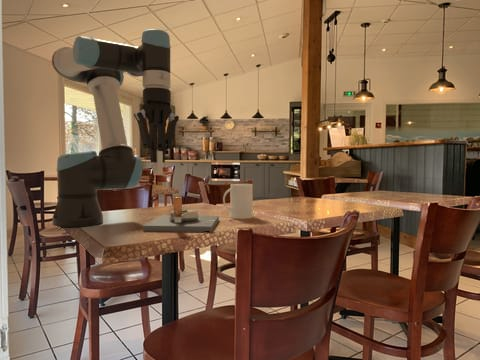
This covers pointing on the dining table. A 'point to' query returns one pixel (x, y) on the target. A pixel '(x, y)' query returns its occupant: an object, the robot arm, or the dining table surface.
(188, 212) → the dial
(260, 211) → the dining table surface
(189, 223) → the panel
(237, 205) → the mug
